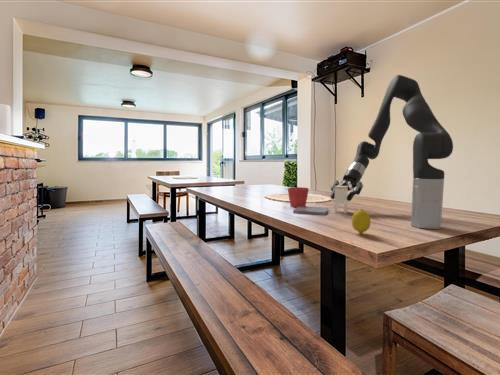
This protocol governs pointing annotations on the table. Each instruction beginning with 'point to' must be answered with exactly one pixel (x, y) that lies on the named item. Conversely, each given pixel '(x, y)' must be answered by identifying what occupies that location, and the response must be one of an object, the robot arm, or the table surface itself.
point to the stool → (340, 197)
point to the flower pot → (298, 196)
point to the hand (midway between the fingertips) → (339, 199)
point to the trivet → (310, 210)
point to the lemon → (361, 221)
